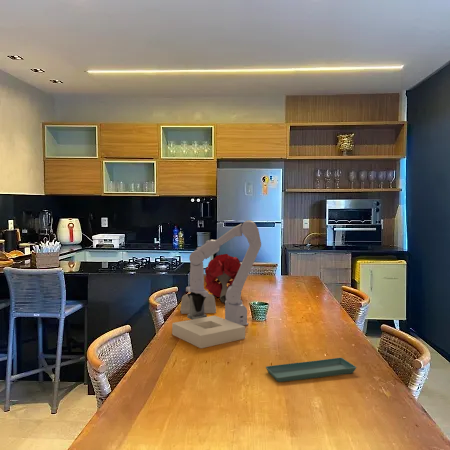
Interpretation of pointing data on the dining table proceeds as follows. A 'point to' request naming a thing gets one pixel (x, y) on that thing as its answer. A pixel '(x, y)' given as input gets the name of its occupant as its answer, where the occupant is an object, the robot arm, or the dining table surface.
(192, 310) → the tall grey block
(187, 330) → the well block
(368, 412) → the dining table surface
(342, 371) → the rectangular tray
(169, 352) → the dining table surface
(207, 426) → the dining table surface
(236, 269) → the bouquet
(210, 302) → the grey rounded block
